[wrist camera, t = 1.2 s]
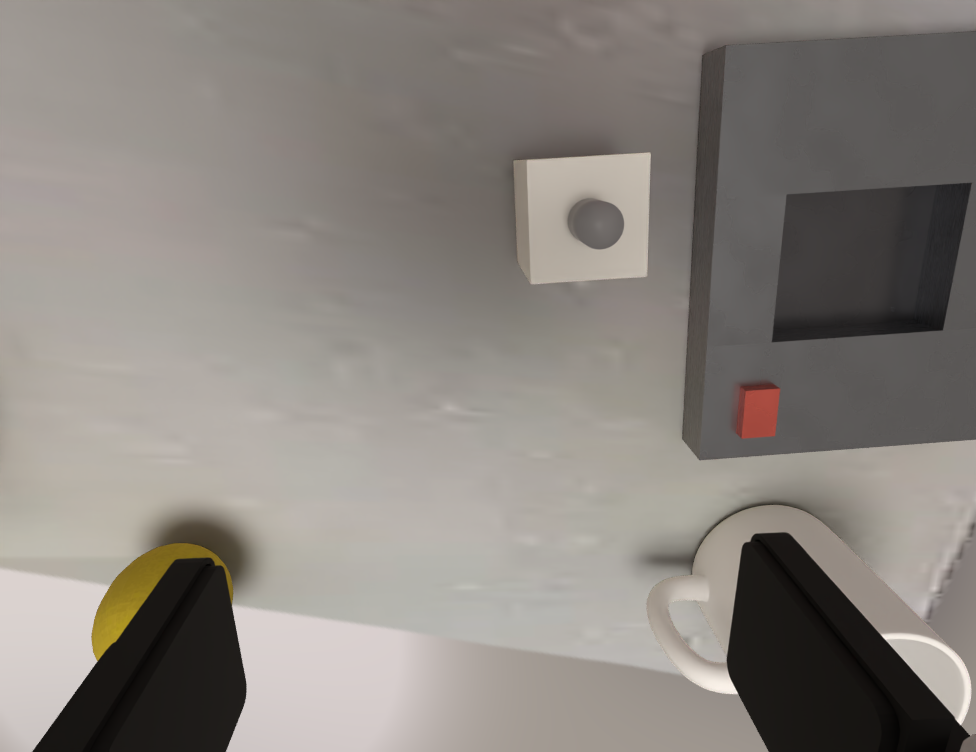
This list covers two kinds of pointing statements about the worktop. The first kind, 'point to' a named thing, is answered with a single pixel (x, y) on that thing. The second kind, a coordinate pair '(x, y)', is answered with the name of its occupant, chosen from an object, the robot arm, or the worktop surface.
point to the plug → (582, 217)
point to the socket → (834, 247)
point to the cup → (843, 567)
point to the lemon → (140, 590)
